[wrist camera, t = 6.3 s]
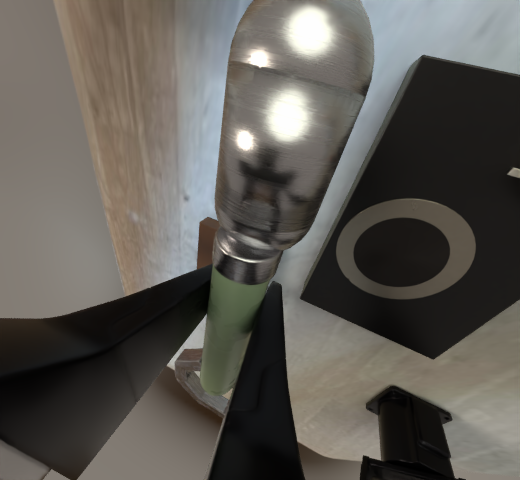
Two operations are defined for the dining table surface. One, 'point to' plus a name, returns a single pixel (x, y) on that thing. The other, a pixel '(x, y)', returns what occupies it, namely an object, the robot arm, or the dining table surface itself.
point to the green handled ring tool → (274, 162)
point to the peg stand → (206, 241)
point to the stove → (439, 201)
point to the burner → (405, 248)
